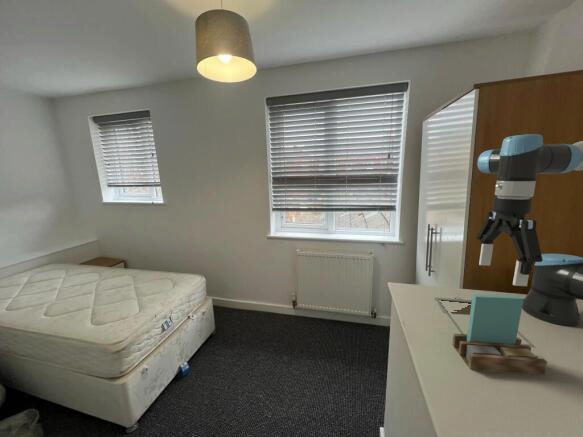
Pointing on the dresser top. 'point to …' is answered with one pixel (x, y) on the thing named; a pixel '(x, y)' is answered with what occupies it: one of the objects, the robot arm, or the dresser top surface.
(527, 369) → the rack
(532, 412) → the dresser top surface
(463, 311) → the framed cork board
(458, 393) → the dresser top surface
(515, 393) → the dresser top surface
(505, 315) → the teal rectangular slab
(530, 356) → the offcut oak
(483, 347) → the offcut charcoal
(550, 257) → the robot arm
